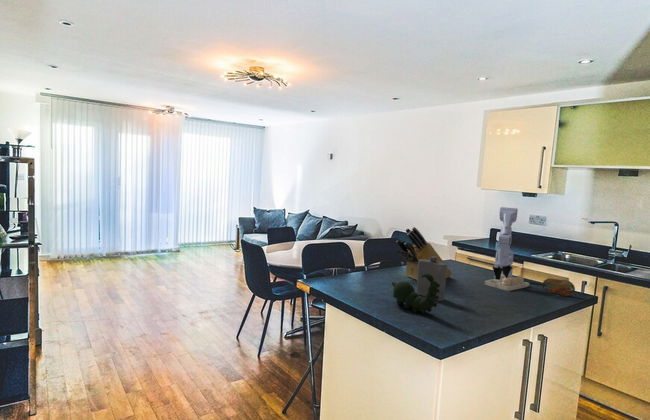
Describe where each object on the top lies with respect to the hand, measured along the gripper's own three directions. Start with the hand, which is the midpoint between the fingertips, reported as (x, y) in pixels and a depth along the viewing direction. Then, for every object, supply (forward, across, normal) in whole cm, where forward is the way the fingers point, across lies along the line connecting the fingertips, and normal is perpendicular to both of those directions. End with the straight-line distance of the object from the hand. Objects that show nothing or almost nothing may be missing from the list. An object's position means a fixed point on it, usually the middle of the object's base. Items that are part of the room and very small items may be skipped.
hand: (501, 278), depth 223 cm
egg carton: (+3, 0, +3) cm, 5 cm away
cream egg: (+3, 0, 0) cm, 3 cm away
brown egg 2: (+3, -7, +7) cm, 10 cm away
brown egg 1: (+3, +7, +7) cm, 10 cm away
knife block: (+4, +32, -31) cm, 44 cm away
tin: (+4, -12, +25) cm, 28 cm away
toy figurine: (+4, +81, +6) cm, 81 cm away
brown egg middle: (+3, 0, +7) cm, 7 cm away
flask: (+4, +58, -3) cm, 58 cm away
